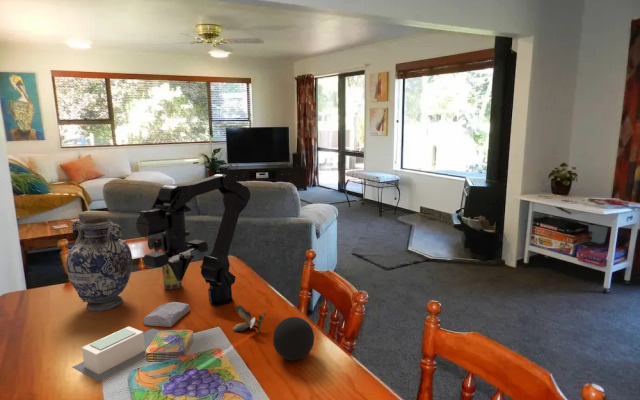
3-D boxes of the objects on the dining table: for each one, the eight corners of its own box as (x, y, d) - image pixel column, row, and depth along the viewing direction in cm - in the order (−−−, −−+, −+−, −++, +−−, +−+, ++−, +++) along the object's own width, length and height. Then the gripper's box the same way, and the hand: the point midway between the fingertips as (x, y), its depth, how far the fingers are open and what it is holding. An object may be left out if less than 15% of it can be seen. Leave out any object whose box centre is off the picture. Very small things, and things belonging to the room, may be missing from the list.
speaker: (318, 348, 105) (317, 311, 103) (308, 371, 95) (307, 330, 93) (281, 344, 107) (279, 308, 105) (267, 366, 97) (266, 326, 95)
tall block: (128, 325, 106) (81, 346, 96) (143, 330, 103) (96, 353, 93) (130, 344, 107) (84, 367, 97) (145, 350, 104) (98, 374, 94)
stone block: (142, 334, 118) (173, 330, 116) (137, 318, 117) (168, 313, 115) (164, 317, 129) (193, 313, 127) (161, 302, 129) (189, 298, 127)
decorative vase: (54, 310, 130) (44, 224, 125) (104, 290, 147) (97, 213, 142) (104, 321, 122) (95, 229, 117) (151, 298, 139) (144, 217, 134)
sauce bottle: (161, 286, 148) (156, 233, 145) (179, 282, 152) (174, 230, 149) (167, 292, 143) (162, 236, 140) (185, 287, 147) (180, 233, 144)
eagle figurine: (266, 319, 119) (237, 311, 120) (265, 306, 114) (234, 298, 115) (257, 343, 114) (226, 335, 115) (255, 330, 109) (223, 322, 110)
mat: (153, 330, 116) (153, 328, 115) (179, 340, 110) (179, 338, 110) (72, 370, 97) (72, 367, 97) (99, 384, 91) (98, 381, 91)
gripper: (182, 219, 130) (186, 267, 132) (128, 232, 114) (134, 286, 117) (207, 223, 124) (211, 272, 126) (154, 237, 108) (159, 294, 111)
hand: (179, 280), depth 120 cm, fingers closed
